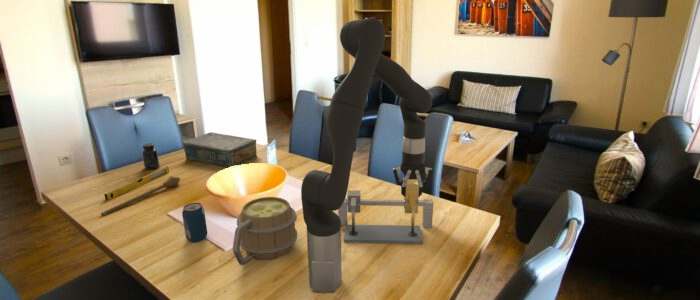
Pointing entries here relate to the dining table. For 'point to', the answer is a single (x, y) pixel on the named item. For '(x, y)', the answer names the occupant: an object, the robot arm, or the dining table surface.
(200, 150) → the metal box
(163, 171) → the spirit level
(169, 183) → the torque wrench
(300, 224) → the dining table surface
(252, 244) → the mug
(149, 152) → the supplement bottle
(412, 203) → the slide head
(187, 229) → the soda can
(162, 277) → the dining table surface
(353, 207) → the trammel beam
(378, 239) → the flange plate
